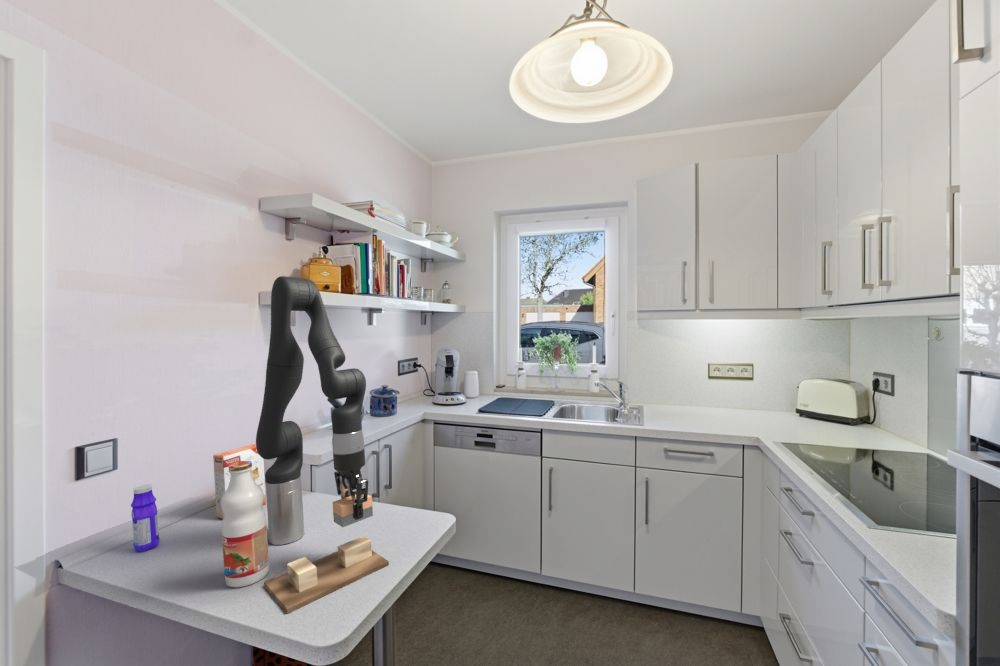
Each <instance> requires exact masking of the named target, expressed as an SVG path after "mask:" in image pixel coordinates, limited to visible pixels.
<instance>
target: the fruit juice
mask: <svg viewBox="0 0 1000 666" xmlns="http://www.w3.org/2000/svg"><path fill="white" fill-rule="evenodd" d="M251 469H252V462H251V461H240V462H235V463H232V464H230V465H229V473H230V474H231V478H230V482H229V486H228V488H227V490H226V492H225V493H224V495H223V496H222V499H221V510H222V512H223V514H224V518H223V519H222V521H221V541H222V543H221V544H222V556H223V568H224V569H223V570H224V580H225V584H226V586H228V587H230V588H242V587H247V586H250V585H253V584H255V583H257V582H260V581H261V580H262V579H264V578H265V577H266V576H267V575H268V573H269V570H270V560H269V559H270V557H269V544H268V543H269V540H268V529H267V526H268V525H267V518H266V512H265V510H264V508H263V501H264V493H263V490H262V489H261V488H260V487H259V486H258V485H257V484H256V483H255V481H254V479H253V477H252V474H251Z"/></svg>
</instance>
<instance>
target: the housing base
mask: <svg viewBox="0 0 1000 666" xmlns="http://www.w3.org/2000/svg"><path fill="white" fill-rule="evenodd" d="M332 514H333V515H332V517H333V523H335V524H336V525H339V526H340V527H341V528H345V527H348V526H351V525H354V524H356V523H358V522H361V521H364V520H366V519H368V518H371V517H373V516H374V511H373V505H372V506H371V507H368V508H366V509H363V517H362V518H360V519H358V520H356V519H354V513H352V514H350V515H347V516H344V517H341V516H339V515H338V514H336V513H334V512H333V511H332Z"/></svg>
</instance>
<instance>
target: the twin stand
mask: <svg viewBox="0 0 1000 666" xmlns="http://www.w3.org/2000/svg"><path fill="white" fill-rule="evenodd" d="M372 549H373V548H372V540H370V539H369V538H368V537H366V536H364V535H362V536H359V537H357V538H354V539H352V540H350V541H348V542H344V543H343V544H340V545H338V546H337V551H335V552H332V553H330V554H327V555H325V556H322V557H320V558H318V559H316V560H314V561H310V560H309V559H308V558H307V557H306V556H303V557H301V558H298V559H296V560H293V561H290V562H288V563H287V564H286V566H287V567H286V568H287V572H284V573H282V574H280V575H277V576H275V577H272V578H270V579H268V580H265V581H264V583H263V585H264V587H265V588H266V590H267V591H268V592H269V594H270V595H271V596H272V597H273V598H274V600H276V602H277V603H278V604H279V605H280V606H281V608H282V609H283V610H284V611H285V612H286V614H290V613H292V612H294V611H296V610H298V609H301V608H303V607H304V606H306V605H307V606H308V605H309V604H312V603H313V602H315V601H317V600H319V599H321V598H323V597H326V596H327V595H328V596H329V594H332V593H334V592H336V591H337V590H339V589H342V588H344V587H347V586H349V585H350V584H353V583H354V582H356V581H358V580H361V579H363V578H365V577H367V576H369V575H371V574H373V573H376V572H377V571H379V570H382V569H383V568H386V567H387V566H389V563H390V562H389V560H388V559H386V558H384V557H383V556H382V555H380V554H378V552H375V551H374V550H372Z"/></svg>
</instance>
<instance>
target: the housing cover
mask: <svg viewBox="0 0 1000 666" xmlns="http://www.w3.org/2000/svg"><path fill="white" fill-rule="evenodd" d="M363 495H364V494H363ZM355 497H356V495H355ZM372 497H373V496H372V495H370V494H368V499H367V501H366V502H363V509H366V508H368V507H371V506H372V507H373V498H372ZM333 512H334V513H336V514H338V515H339V516H341V517H344V516H347V515H350V514H352V513H354V512H353V502H352V497H351V496H349V497H346V498H343V499H341V498H340V499H337V500H335V501H332V513H333Z"/></svg>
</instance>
